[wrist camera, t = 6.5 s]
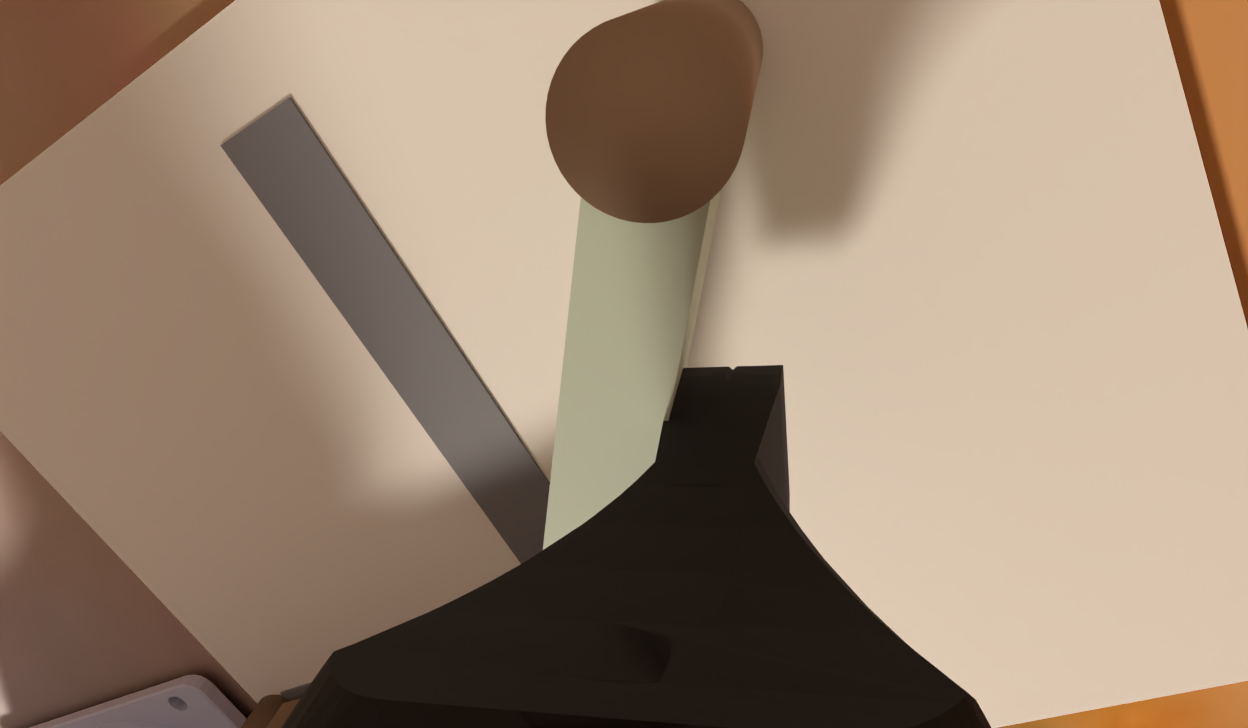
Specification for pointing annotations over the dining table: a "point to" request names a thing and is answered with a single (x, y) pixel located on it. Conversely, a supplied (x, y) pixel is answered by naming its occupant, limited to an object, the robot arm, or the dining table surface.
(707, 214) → the fence panel
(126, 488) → the card
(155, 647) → the dining table surface
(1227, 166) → the dining table surface
